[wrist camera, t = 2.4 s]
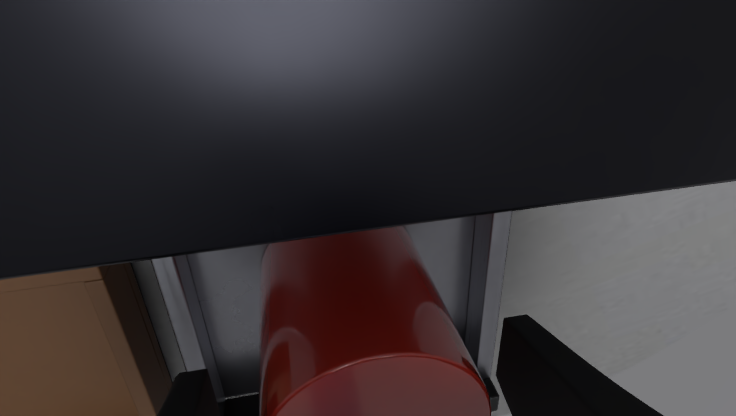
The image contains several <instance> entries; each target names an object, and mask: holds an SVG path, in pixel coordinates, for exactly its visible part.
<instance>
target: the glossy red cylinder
mask: <svg viewBox="0 0 736 416" xmlns="http://www.w3.org/2000/svg"><path fill="white" fill-rule="evenodd" d="M259 416H491V401H490V396H489V393H488V391H487V388H486V386H485V384H484V382H483V380H482V378H481V376H480V374H479V372H478V370H477V368H476V366H475V364H474V362H473V360H472V358H471V356H470V354H469V352H468V350H467V348H466V346H465V344H464V342H463V340H462V338H461V336H460V334H459V332H458V330H457V328H456V326H455V324H454V322H453V320H452V318H451V316H450V314H449V312H448V310H447V308H446V306H445V304H444V302H443V300H442V298H441V296H440V294H439V292H438V290H437V288H436V286H435V283H434V281H433V279H432V277H431V275H430V273H429V271H428V269H427V267H426V265H425V263H424V261H423V259H422V257H421V255H420V253H419V251H418V249H417V247H416V245H415V243H414V241H413V239H412V237H411V236H410V234H409V233H408V231H407V230H406V228H405V227H404V226H397V227H389V228H382V229H374V230H367V231H360V232H352V233H345V234H337V235H330V236H323V237H315V238H308V239H300V240H293V241H285V242H278V243H271V244H269V245H268V247H267V249H266V250H265V253H264V255H263V258H262V261H261V266H260V279H259Z"/></svg>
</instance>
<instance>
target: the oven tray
mask: <svg viewBox="0 0 736 416" xmlns="http://www.w3.org/2000/svg"><path fill="white" fill-rule="evenodd" d="M511 215H512V211H508V212H501V213H493V214H486V215H478V216H471V217H464V218H456V219H449V220H441V221H434V222H426V223H419V224H412V225H404V227H405V228H406V230H407V231H408V233H409V234H410V236H411V237H412V239H413V241H414V243H415V245H416V247H417V249H418V251H419V253H420V255H421V257H422V259H423V261H424V263H425V265H426V267H427V269H428V271H429V273H430V275H431V277H432V279H433V281H434V283H435V286H436V288H437V290H438V292H439V294H440V296H441V298H442V300H443V302H444V304H445V306H446V308H447V310H448V312H449V314H450V316H451V318H452V320H453V322H454V324H455V326H456V328H457V330H458V332H459V334H460V336H461V338H462V340H463V342H464V344H465V346H466V348H467V350H468V352H469V354H470V356H471V358H472V360H473V362H474V364H475V366H476V368H477V370H478V372H479V374H480V376H481V378H482V380H483V382H484V384H485V386H486V388H487V391H488V393H489V396H490V401H491V412H492V411H496V410H497V409H498V402H499V395H498V393H497V391H496V389H495V387H494V385H493V383H492V381H491V379H490V377H491V369H492V362H493V354H494V346H495V338H496V331H497V323H498V315H499V308H500V300H501V292H502V284H503V277H504V269H505V261H506V254H507V246H508V238H509V230H510V223H511ZM268 245H269V244H263V245H256V246H248V247H241V248H233V249H226V250H219V251H211V252H204V253H196V254H189V255H181V256H174V257H167V258H159V259H152V260H151V262H152V265H153V269H154V272H155V275H156V278H157V281H158V284H159V287H160V290H161V293H162V297H163V300H164V303H165V306H166V309H167V312H168V315H169V318H170V321H171V325H172V328H173V331H174V334H175V337H176V340H177V343H178V346H179V349H180V353H181V356H182V359H183V362H184V365H185V368H186V371H187V372H188V371H194V370H200V369H206V368H207V369H208V373H209V376H210V379H211V383H212V386H213V390H214V393H215V397H216V400H217V404H218V407H219V410H220V414H221V416H259V394H254V395H249V396H243V397H238V398H232V399H226V400H225V398H226V397H232V396H237V395H243V394H249V393H254V392H259V279H260V266H261V261H262V258H263V255H264V253H265V250H266V249H267V247H268Z"/></svg>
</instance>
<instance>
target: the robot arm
mask: <svg viewBox="0 0 736 416" xmlns="http://www.w3.org/2000/svg"><path fill="white" fill-rule="evenodd" d="M496 377H497V379H498V382H499V384H500V387H501V389H502V392H503V395H504V397H505V399H506V402H507V404H508V407H509V409H510V411H511V414H512V416H663V415H662V414H660V413H659V412H657V411H656V410H654V409H653V408H651V407H649V406H648V405H647V404H645V403H644V402H642V401H640V400H639V399H638V398H636V397H635V396H633V395H632V394H630V393H629V392H627V391H626V390H624V389H623V388H622V387H620V386H619V385H617V384H616V383H615V382H613V381H612V380H611V379H609V378H608V377H606V376H605V375H604V374H602V373H601V372H600V371H598V370H597V369H596V368H594V367H593V366H592V365H590V364H589V363H588V362H586V361H585V360H584V359H583V358H581V357H580V356H579V355H577V354H576V353H575V352H574V351H572V350H571V349H570V348H568V347H567V346H566V345H565V344H563V343H562V342H561V341H560V340H558V339H557V338H556V337H555V336H553V335H552V334H551V333H550V332H548V331H547V330H546V329H545V328H543V327H542V326H541V325H540V324H538V323H537V322H536V321H535V320H533V319H532V318H531V317H529V316H528V315H527V314H526V315H520V316H514V317H508V318H504V321H503V328H502V335H501V342H500V350H499V357H498V364H497V371H496ZM157 416H221V414H220V410H219V407H218V404H217V400H216V397H215V393H214V390H213V386H212V383H211V379H210V376H209V373H208V369H207V368H206V369H200V370H194V371H188V372H182V373H179V374H178V375H177V376H176V378H175V380H174V382H173V384H172V386H171V388H170V390H169V392H168V394H167V396H166V399H165V401H164V403H163V405H162V406H161V408H160V410H159V412H158V414H157Z"/></svg>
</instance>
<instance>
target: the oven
mask: <svg viewBox="0 0 736 416" xmlns="http://www.w3.org/2000/svg"><path fill="white" fill-rule="evenodd" d="M731 181H736V0H0V280H3V279H11V278H18V277H25V276H33V275H40V274H48V273H55V272H63V271H70V270H77V269H85V268H92V267H100V266H107V265H115V264H122V263H129V262H137V261H144V260H152V259H159V258H167V257H174V256H181V255H189V254H196V253H204V252H211V251H219V250H226V249H233V248H241V247H248V246H256V245H263V244H271V243H278V242H285V241H293V240H300V239H308V238H315V237H323V236H330V235H337V234H345V233H352V232H360V231H367V230H374V229H382V228H389V227H397V226H404V225H412V224H419V223H426V222H434V221H441V220H449V219H456V218H464V217H471V216H478V215H486V214H493V213H501V212H508V211H516V210H523V209H530V208H538V207H545V206H553V205H560V204H568V203H575V202H582V201H590V200H597V199H605V198H612V197H620V196H627V195H634V194H642V193H649V192H657V191H664V190H671V189H679V188H686V187H694V186H701V185H709V184H716V183H723V182H731Z"/></svg>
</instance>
